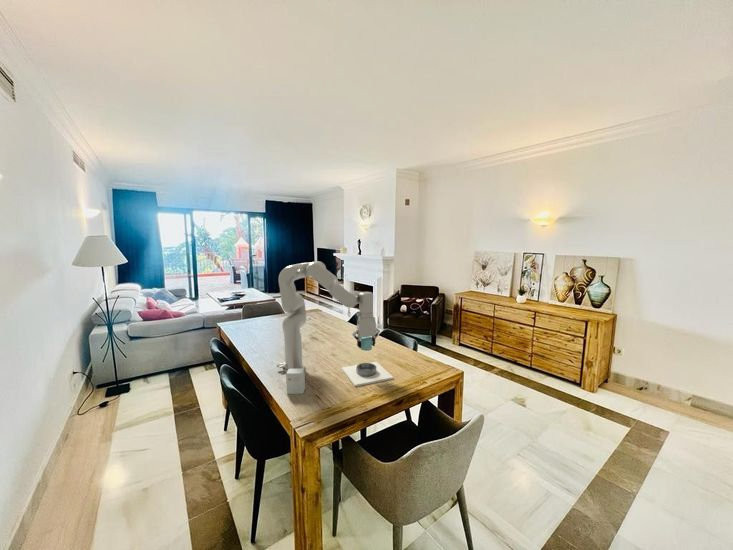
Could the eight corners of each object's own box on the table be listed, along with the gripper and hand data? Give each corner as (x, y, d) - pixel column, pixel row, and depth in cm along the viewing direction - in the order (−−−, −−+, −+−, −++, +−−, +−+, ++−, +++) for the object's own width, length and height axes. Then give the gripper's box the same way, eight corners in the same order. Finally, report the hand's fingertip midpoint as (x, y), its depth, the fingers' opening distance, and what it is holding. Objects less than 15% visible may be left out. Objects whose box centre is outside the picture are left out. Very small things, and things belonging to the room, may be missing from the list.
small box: (305, 388, 149) (304, 368, 148) (303, 393, 143) (302, 373, 142) (289, 388, 149) (288, 368, 147) (286, 394, 143) (285, 373, 142)
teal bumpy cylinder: (362, 351, 159) (362, 340, 158) (358, 347, 164) (358, 337, 163) (374, 349, 161) (374, 338, 161) (370, 345, 167) (370, 335, 166)
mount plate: (354, 386, 150) (354, 384, 150) (341, 369, 170) (341, 367, 170) (393, 378, 159) (393, 377, 159) (376, 363, 179) (376, 361, 179)
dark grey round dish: (360, 378, 157) (360, 372, 157) (353, 369, 167) (353, 364, 167) (379, 374, 162) (379, 369, 161) (371, 366, 171) (371, 361, 171)
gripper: (353, 318, 154) (353, 351, 156) (383, 314, 160) (383, 346, 162) (348, 314, 161) (349, 346, 163) (378, 311, 167) (377, 342, 169)
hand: (366, 346), depth 163 cm, fingers closed on teal bumpy cylinder, 7 cm apart
